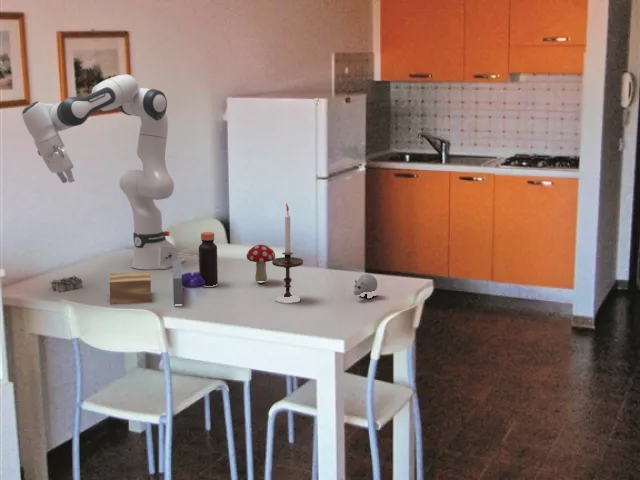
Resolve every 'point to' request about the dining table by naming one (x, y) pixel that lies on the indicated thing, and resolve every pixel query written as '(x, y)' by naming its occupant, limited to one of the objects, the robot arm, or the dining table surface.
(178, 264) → the slate board
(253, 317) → the dining table surface
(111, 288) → the oak block
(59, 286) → the egg carton
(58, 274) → the dining table surface
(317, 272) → the dining table surface
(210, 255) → the bottle
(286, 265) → the candlestick
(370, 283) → the round bodied animal figurine
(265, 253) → the decorative mushroom
